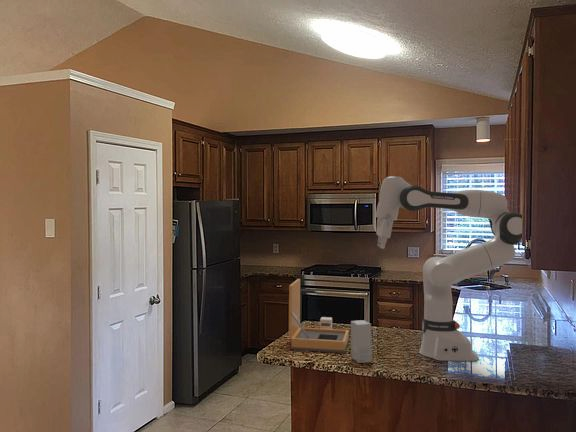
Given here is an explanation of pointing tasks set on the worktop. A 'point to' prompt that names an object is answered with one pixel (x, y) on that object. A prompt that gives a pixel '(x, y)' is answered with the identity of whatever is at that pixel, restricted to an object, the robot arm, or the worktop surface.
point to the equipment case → (312, 329)
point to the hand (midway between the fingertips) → (380, 247)
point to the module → (326, 323)
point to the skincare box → (361, 341)
